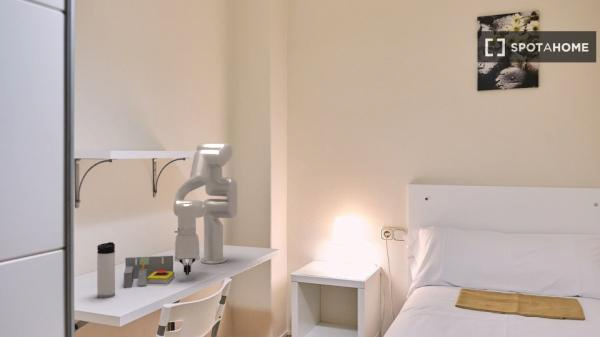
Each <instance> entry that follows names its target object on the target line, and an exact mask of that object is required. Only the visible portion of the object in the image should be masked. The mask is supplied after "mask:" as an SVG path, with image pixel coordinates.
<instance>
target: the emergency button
mask: <svg viewBox="0 0 600 337" xmlns="http://www.w3.org/2000/svg"><path fill="white" fill-rule="evenodd" d="M175 272H176V271H173V272H169V271H164V270H161V271H155V272H154V273H152V274H151V275H150V276H148V277H147V283H146V285H144V286H150V287H151V286H152V287H157V286H158V287H166V286H168V285H170V284H171V283H172V282H173V281H174V280H175V279H176V277H177V276H176V274H175Z"/></svg>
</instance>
